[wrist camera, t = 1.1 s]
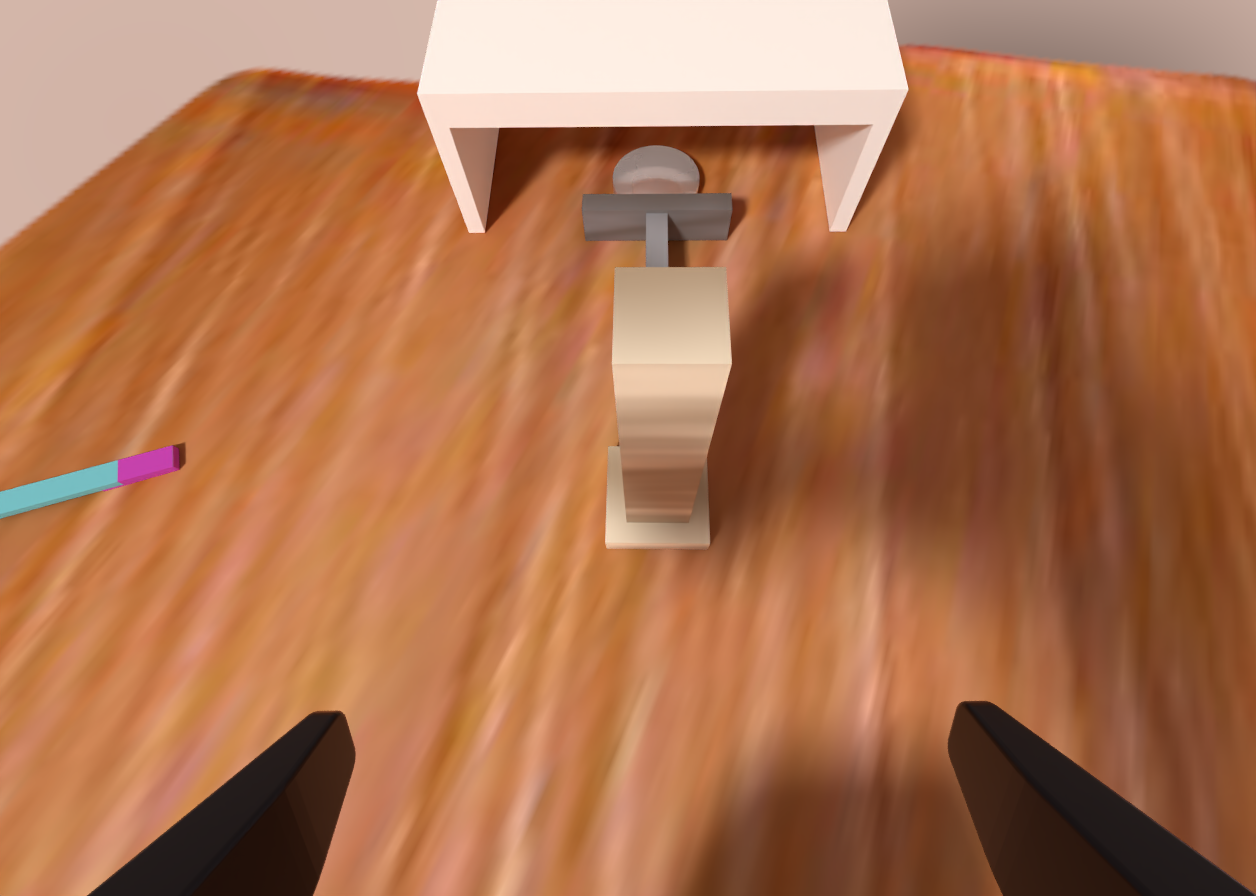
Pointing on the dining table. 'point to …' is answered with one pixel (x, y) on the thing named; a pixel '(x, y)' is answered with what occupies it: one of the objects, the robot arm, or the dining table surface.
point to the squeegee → (89, 481)
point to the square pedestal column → (663, 367)
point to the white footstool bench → (662, 78)
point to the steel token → (656, 172)
